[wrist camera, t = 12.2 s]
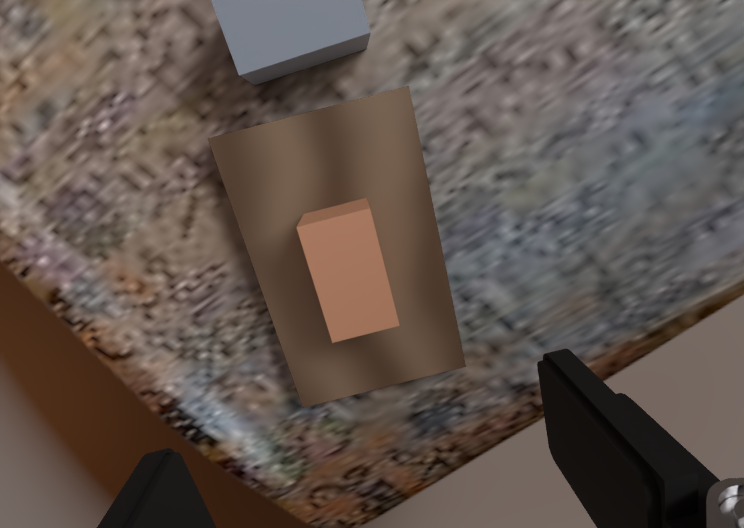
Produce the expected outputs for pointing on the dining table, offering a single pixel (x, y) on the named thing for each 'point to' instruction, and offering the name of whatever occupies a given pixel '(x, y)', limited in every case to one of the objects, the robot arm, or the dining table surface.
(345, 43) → the slate brick
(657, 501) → the robot arm
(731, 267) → the dining table surface
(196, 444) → the dining table surface
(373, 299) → the terracotta brick
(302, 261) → the oak board
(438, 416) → the dining table surface
